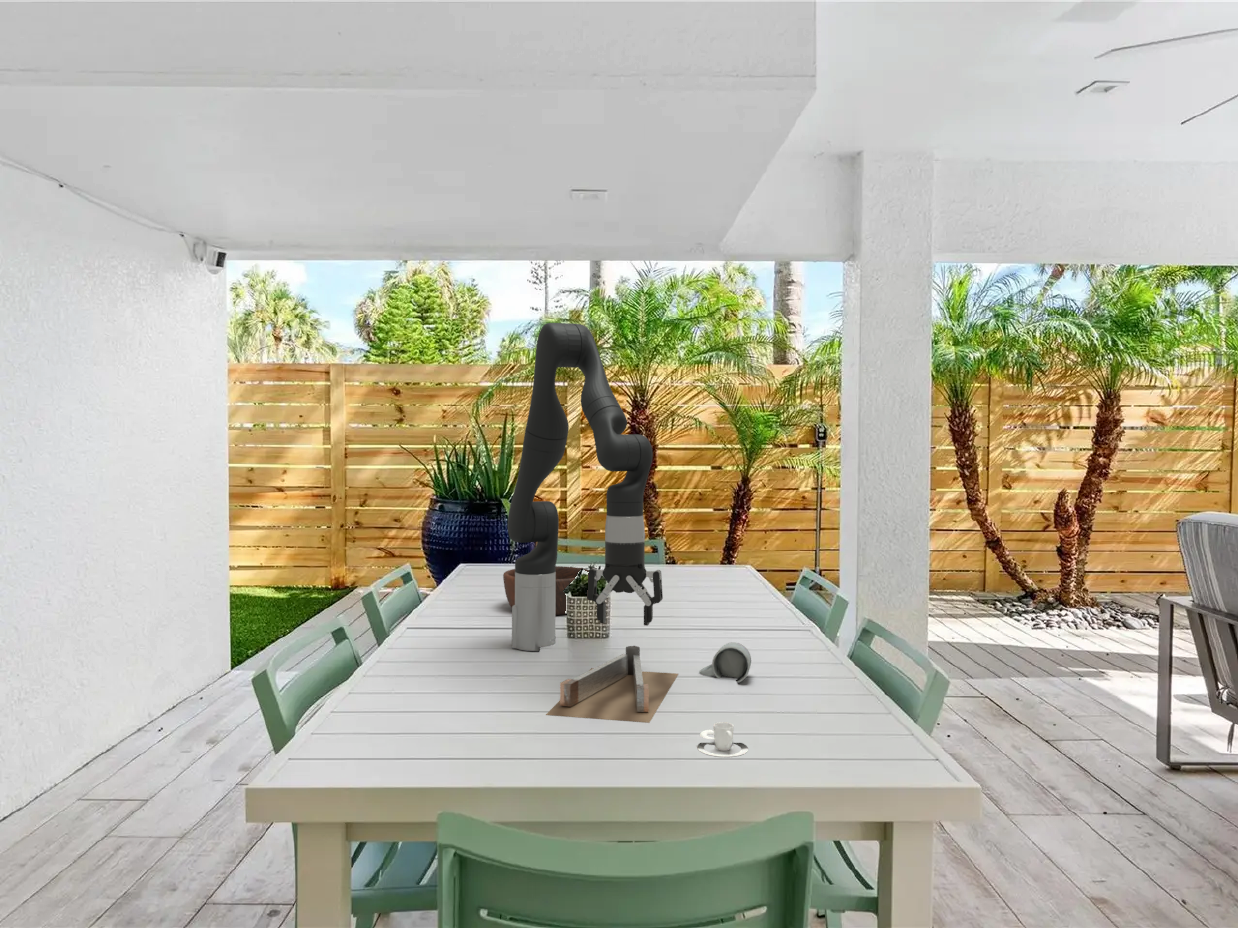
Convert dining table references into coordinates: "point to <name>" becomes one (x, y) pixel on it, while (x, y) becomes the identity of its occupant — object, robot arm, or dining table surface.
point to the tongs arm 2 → (640, 686)
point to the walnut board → (621, 697)
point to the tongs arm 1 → (593, 681)
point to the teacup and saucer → (721, 739)
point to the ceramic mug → (730, 662)
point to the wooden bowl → (562, 581)
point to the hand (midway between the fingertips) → (624, 623)
